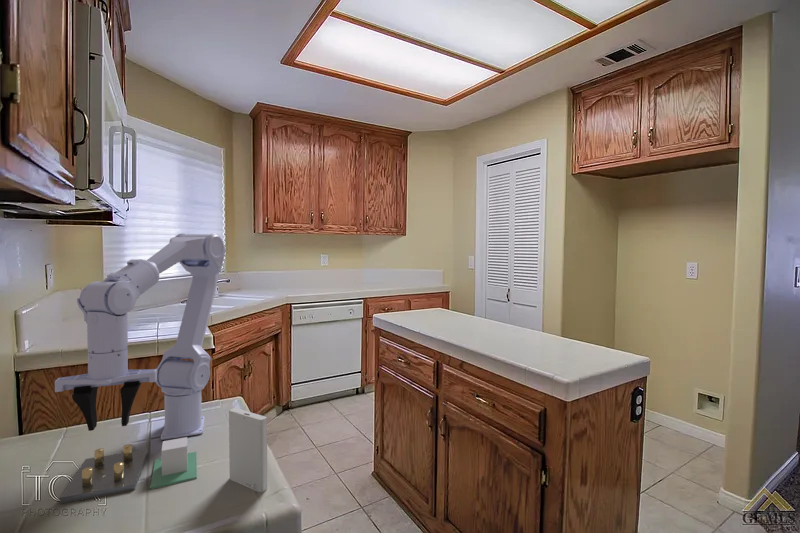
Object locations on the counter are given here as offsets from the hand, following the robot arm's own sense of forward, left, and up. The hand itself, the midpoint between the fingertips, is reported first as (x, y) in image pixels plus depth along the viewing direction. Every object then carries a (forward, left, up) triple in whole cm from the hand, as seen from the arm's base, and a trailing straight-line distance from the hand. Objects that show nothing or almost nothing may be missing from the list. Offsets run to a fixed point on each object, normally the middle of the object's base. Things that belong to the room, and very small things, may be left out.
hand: (109, 426), depth 72 cm
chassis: (0, 0, -9) cm, 9 cm away
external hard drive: (+12, +22, -9) cm, 27 cm away
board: (+2, +10, -9) cm, 14 cm away
